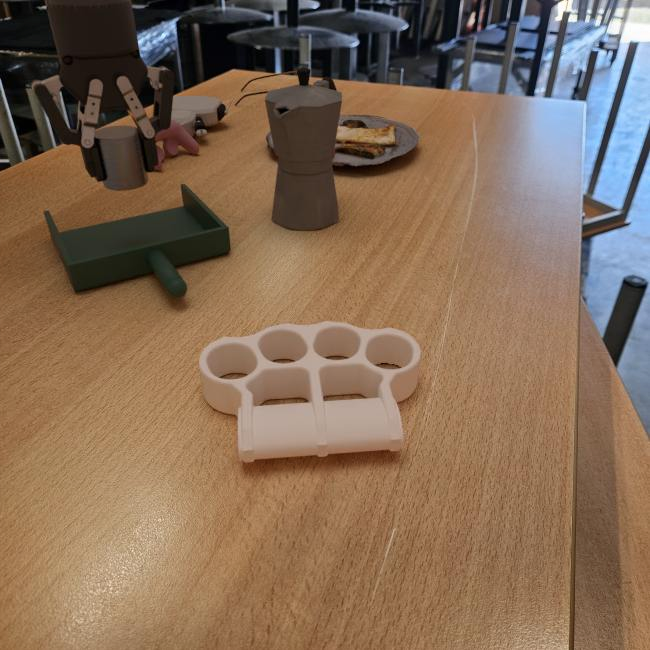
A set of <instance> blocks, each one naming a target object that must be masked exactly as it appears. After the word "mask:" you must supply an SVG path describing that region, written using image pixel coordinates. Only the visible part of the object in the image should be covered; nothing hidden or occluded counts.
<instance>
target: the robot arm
mask: <svg viewBox="0 0 650 650" xmlns="http://www.w3.org/2000/svg"><path fill="white" fill-rule="evenodd" d="M44 4H45V9H46V11H47V16H48V20H49V24H50V28H51V32H52V36H53V40H54V45H55V49H56V53H57V57H58V68H57V70H56V74H55V75H53V76H50V77H48V78H46V79H42V80H40V79H34V80H32V81H31V82H30V88H31V91H32V92H33V94H34V96H35V97H36V99H37V101H38V102H39V105H40V106H41V108H42V110H43V112H44V114H45V115H46V117H47V119H48V121H49V122H50V124H51V126H52V128H53V129H54V132H55V133H56V135H57V136H58V138H59V139H60V141H61V142H62V144H63V145H66V146H70V145H74V146H78V147H79V149H80V152H81V156H82V160H83V164H84V169H85V171H86V172H87V173H88V175H89V176H90V178H94V179H95V180H96V182H97V183H101V182H103V181H104V175H103V171H102V166H101V162H100V157H99V153H98V149H97V147H96V146H95V145H94V137H95V131H96V130H97V129H96V128H97V126H98V123H99V116H100V115H102V114H106V113H109V112H111V111H118V112H119V111H120V112H123V111H127V113H128V114H129V116H130V117H131V120H132V121H133V123H134V125H135V127H136V128H138V129H139V130H140V134H141V140H142V145H143V151H144V157H145V162H146V168H147V173H148V174H149V173H155V171H156V170H155V168H154V166H158V162H159V159H158V153H157V147H156V145H157V142H156V141H155V136H156V134H157V133H158V132H160V131H161V130H167V129H169V127H170V125H171V115H172V104H173V98H174V92H175V80H176V79H175V78H176V75H175V73H174V72H173V71H172V70H171V69H168V68H167V67H166V66H164V65H159V66H158V67H156V66H150V65H147V64H146V63H145V61H144V59H143V58H142V56H141V52H140V45H139V39H138V34H137V28H136V27H137V26H136V22H135V16H134V15H135V14H134V10H133V3H132V0H44ZM147 78H148V79H149V85H150V86H151V87H152V88H153V89H154V96H153V107H152V108H153V109H152V116H151V117H150V118H149V117H148V114H147V112H146V110H145V109H144V107H143V105H142V103H141V101H140V99H139V98H138V97H139V94H140V92H141V91H142V89H143V86H144V84H145V82H146V80H147ZM62 88H65V89H66V90H67V91H68V92H69V94H71V95H72V96H73V97H74V98H75V99H76V100H77V101H78V107H77V125H76V129H75V128H70V127H69V126H68V124H67V122H66V120H65V118H64V116H63V114H62V113H61V111H60V109H59V107H58V105H57V104H58V103H60V102H61V99H62V97H61V96H62V95H61V93H60V91H61V89H62Z"/></svg>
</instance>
